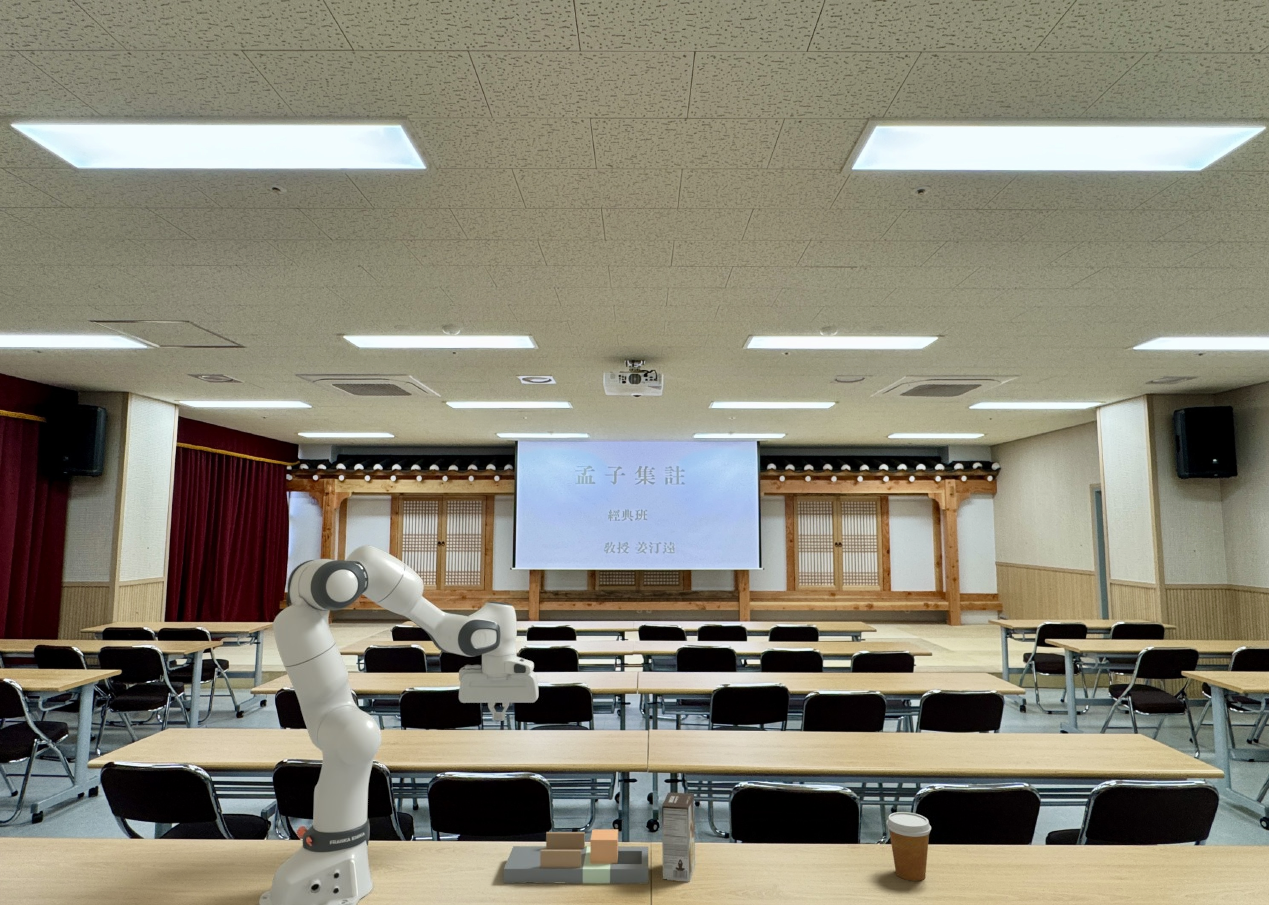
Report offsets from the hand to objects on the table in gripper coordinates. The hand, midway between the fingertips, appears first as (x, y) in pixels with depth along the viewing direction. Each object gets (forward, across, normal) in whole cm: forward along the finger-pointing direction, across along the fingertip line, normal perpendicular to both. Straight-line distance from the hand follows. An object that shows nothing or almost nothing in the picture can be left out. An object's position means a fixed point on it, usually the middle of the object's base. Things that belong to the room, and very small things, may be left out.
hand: (498, 720), depth 195 cm
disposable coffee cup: (+30, +97, -20) cm, 103 cm away
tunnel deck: (+29, +22, -18) cm, 41 cm away
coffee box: (+29, +45, -19) cm, 57 cm away
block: (+26, +28, -18) cm, 42 cm away
